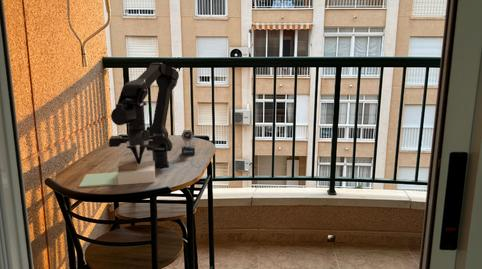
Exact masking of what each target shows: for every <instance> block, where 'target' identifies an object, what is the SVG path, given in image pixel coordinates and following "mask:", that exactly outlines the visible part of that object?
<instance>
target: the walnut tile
mask: <svg viewBox="0 0 482 269" xmlns="http://www.w3.org/2000/svg"><path fill="white" fill-rule="evenodd" d="M117 169H118V171H117V172H122V171H135V170H137V161H136V158H135V157H133V158H120V159H119V161H118V165H117Z"/></svg>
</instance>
